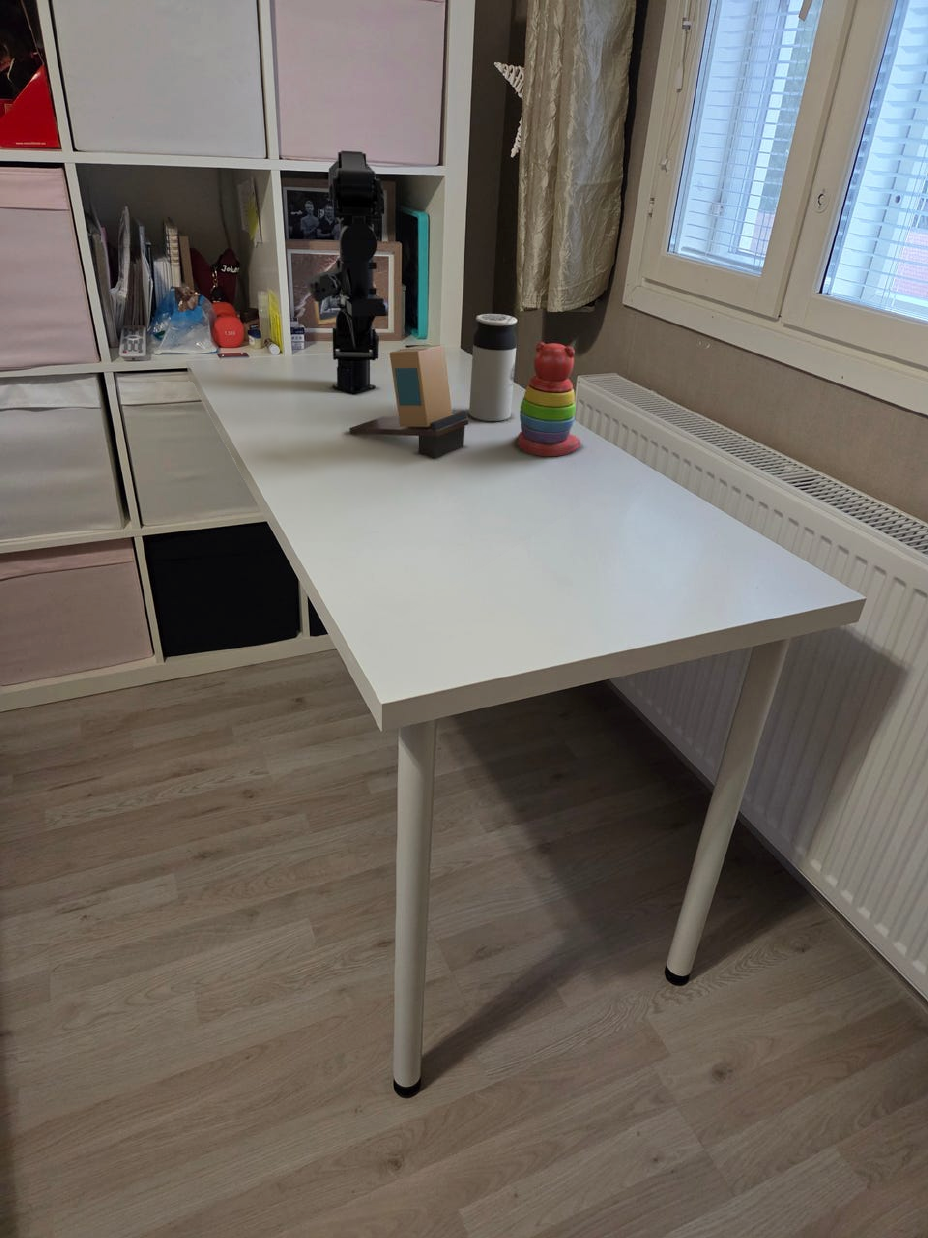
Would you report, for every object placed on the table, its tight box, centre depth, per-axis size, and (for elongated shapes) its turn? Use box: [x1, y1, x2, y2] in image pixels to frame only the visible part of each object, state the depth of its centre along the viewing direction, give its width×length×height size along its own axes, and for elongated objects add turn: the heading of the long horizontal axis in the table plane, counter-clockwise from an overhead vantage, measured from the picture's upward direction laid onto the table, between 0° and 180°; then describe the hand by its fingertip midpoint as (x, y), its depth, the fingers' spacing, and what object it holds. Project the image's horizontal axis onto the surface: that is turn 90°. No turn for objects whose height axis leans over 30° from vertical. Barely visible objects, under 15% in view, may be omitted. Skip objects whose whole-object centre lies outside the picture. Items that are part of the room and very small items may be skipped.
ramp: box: [348, 410, 469, 460], centre depth 146 cm, size 19×9×6 cm, turn 55°
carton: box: [389, 344, 453, 427], centre depth 141 cm, size 8×7×13 cm
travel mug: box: [468, 313, 518, 422], centre depth 158 cm, size 8×8×18 cm
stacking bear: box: [516, 341, 581, 457], centre depth 144 cm, size 11×10×18 cm
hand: (357, 348), depth 151 cm, fingers closed
